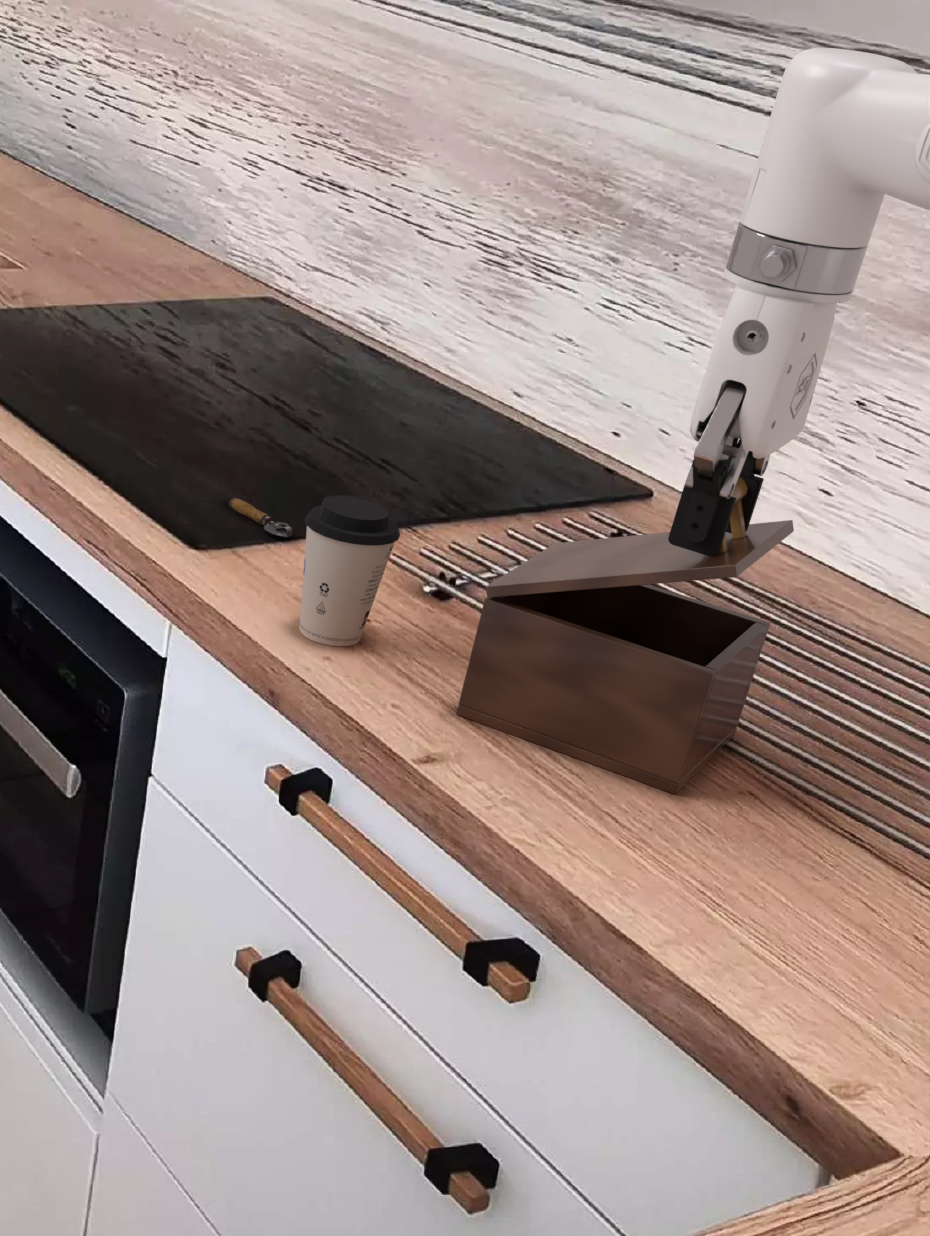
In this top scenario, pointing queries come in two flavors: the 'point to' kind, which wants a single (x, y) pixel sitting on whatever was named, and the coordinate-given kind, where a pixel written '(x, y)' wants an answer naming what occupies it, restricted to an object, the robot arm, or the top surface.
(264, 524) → the can opener
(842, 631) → the top surface
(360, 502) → the coffee cup
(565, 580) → the caddy lid
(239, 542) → the top surface
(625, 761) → the box
